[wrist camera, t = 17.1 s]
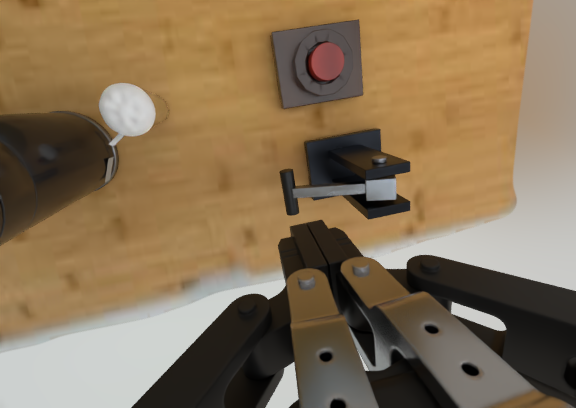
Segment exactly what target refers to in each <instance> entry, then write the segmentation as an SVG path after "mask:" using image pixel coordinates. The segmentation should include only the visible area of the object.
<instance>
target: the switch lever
mask: <svg viewBox="0 0 576 408" xmlns="http://www.w3.org/2000/svg"><path fill="white" fill-rule="evenodd" d="M280 177H281V183H282V189H283V195H284V201H285V206H286V212H287V215H296V214H298V213H299V207H298V200H297V198H305V197H321V196H337V195H353V194H366V200H367V201H381V200H396V177H395V175H391V176H386V177H381V178H376V179H371V180H365V181H355V182H342V183H329V184H315V185H302V186H295V181H294V174H293V169H284V170H281V171H280Z"/></svg>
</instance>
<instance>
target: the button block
mask: <svg viewBox="0 0 576 408" xmlns="http://www.w3.org/2000/svg"><path fill="white" fill-rule="evenodd" d="M270 37H271V44H272V50H273V57H274V63H275V69H276V76H277V82H278V89H279V95H280V102H281V108H282V109H286V108H292V107H298V106H304V105H309V104H315V103H321V102H327V101H333V100H339V99H344V98H350V97H356V96H362V95H363V84H362V65H361V46H360V27H359V20H352V21H345V22H339V23H332V24H325V25H318V26H311V27H304V28H297V29H290V30H283V31H277V32H272V33H271V36H270ZM326 42H331V43H334V44H336V45H337V46H339V47H340V49H341V50H342V52H343V55H344V67H343V70H342V72H341V73H340V74H339V75H338V76H337V77H336V78H335V79H332V80H329V81H325V82H322V81H318V80H316V79H314V78H313V77H312V75H311V74H310V72H309V69H308V59H309V56H310V54H311V52H312V51H313V50H314V49H315V48H316V47H318V46H319V45H320V44H322V43H326Z"/></svg>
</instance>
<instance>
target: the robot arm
mask: <svg viewBox="0 0 576 408" xmlns="http://www.w3.org/2000/svg"><path fill="white" fill-rule="evenodd" d="M112 140H113V139H112V138H111V136H110V135H109V133H108V132H107V131H106V130H105V129H104V128H103V127H102V126H101V125H100V124H98V123H97V122H96V121H94V120H93V119H91V118H89V117H87V116H85V115H82V114H79V113H75V112H70V111H55V112H49V113H27V114H6V115H0V246H1V245H2V244H4V243H6V242H7V241H9V240H11V239H13V238H14V237H16V236H18V235H19V234H21V233H22V232H24V231H26V230H28V229H29V228H31V227H33V226H34V225H36V224H38V223H40V222H41V221H43V220H45V219H46V218H48V217H50V216H52V215H53V214H55V213H57V212H59V211H60V210H62V209H64V208H65V207H67V206H69V205H71V204H72V203H74V202H76V201H77V200H79V199H81V198H83V197H84V196H86V195H88V194H90V193H91V192H93V191H96V190H98V189H100V188H102V187H103V186H105V185H106V184H108V183H109V182H110V181H111V180H112V178H113V177H114V175H115V173H116V171H117V168H118V152H117V148H116V145H115V146H110V145H108V144H109V143H110V142H111V141H112ZM290 232H291V237H289V238H284V239H281V240H280V242H279V245H278V249H279V254H280V259H281V264H282V269H283V274H284V278H285V282H286V286H285V288H284V289H283V290H282V291H281V292H280V293H279V294H278V295H276V296H275V297H273V298H271V299H269V300H268V299H267V298H266V297H265V296H263V295H260V294H248V295H244V296H242V297H239V298H238V299H236V300H235V301H233V302H232V303H231V304H230V305H229V306H228V307H227V308H226V309H225V310H224V311H223V312H222V313H221V315H219V317H218V318H217V319H216V320H215V321H214V322H213V323H212V324H211V325H210V326H209V327H208V328H207V329H206V330H205V331H204V332H203V333H202V334H201V335H200V336H199V337H198V339H197V340H196V341H195V342H194V343H193V344H192V345H191V346H190V347H189V348H188V349H187V350H186V351H185V352H184V353H183V354H182V355H181V356H180V357H179V358H178V359H177V360H176V362H175V363H174V364H173V365H172V366H171V367H170V368H169V369H168V370H167V371H166V372H165V373H164V374H163V375H162V376H161V378H159V379H158V381H157V382H155V384H154V385H153V386H152V387H151V388H150V389H149V390H148V391H147V392H146V393H145V394H144V395H143V396H142V397H141V398H140V399H139V400H138V401H137V403H135V404H134V405H133V406H132V408H265V407H266V405H267V403H268V402H269V400H270V398H271V396H272V395H273V393H274V391H275V389H276V387H277V385H278V384H279V382H280V380H281V378H282V376H283V373H284V368H285V367H287V366H288V365H290V364H291V363H293V362H295V371H296V379H297V387H298V397H299V399H298V400H297V401H296V402H295V403H293V404H292V405H291V406H290V407H289V408H576V291H573V290H569V289H565V288H561V287H557V286H553V285H549V284H545V283H541V282H537V281H533V280H529V279H525V278H521V277H517V276H513V275H509V274H505V273H501V272H497V271H493V270H489V269H485V268H481V267H477V266H473V265H469V264H465V263H461V262H457V261H453V260H449V259H445V258H441V257H437V256H432V255H419V256H415V257H412V258H411V259H409V260H408V262H407V269H385V268H384V267H383V266H382V265H381V264H380V263H379V262H377V261H375V260H374V259H372V258H368V257H364V256H363V255H362V254H361V253H360V251H359V250H358V249H357V248H356V246H355V245H354V244H353V243H352V241H351V240H350V239H349V238H348V236H347V235H346V234H345V232H344V231H342V230H340V229H338V228H336V227H335V228H330V229H328V228H327V226H326V225H325V223H324V222H323V220H318V221H313V222H308V223H304V224H299V225H294V226H290ZM452 302H455V303H458V304H460V305H463V306H466V307H470V308H473V309H475V310H478V311H481V312H484V313H487V314H490V315H493V316H495V317H497V318H499V319H500V320H501V321H502V322H503V323H504V324H505V326H506V329H507V330H505V331H497V330H494V329H491V328H488V327H486V326H483V325H480V324H477V323H475V322H472V321H469V320H467V319H464V318H461V317H458V316H456V315H453V314H451V305H452ZM357 350H358V351H357ZM358 352H359V353H360V355H361V357H362V359H363V360H364V362H365V364H366V366H367V367H368V369H369V371H365V369H364V367H363V364H362V361H361V359H360V356H359V353H358Z"/></svg>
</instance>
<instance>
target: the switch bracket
mask: <svg viewBox="0 0 576 408" xmlns="http://www.w3.org/2000/svg"><path fill="white" fill-rule="evenodd" d="M304 143H305V150H306V158H307V166H308V173H309V181H310V185H315V184H329V183H342V182H355V181H365V180H371V179H376V178H381V177H386V176H391V175H396V174H401V173H406V172H410V162H409V161H407V160H404V159H401V158H398V157H395V156H392V155H389V154H386V153H383V152H381V138H380V129H371V130H365V131H360V132H354V133H349V134H343V135H338V136H332V137H327V138H322V139H316V140H311V141H305V142H304ZM337 196H339V195H337ZM342 196H343V197H344V198H345V199H346V200H348V201H349V202H350V203H351V204H352V205H353V206H354V207H355V208H356V209H357V210H358V211H360V212H361V213H362V214H363V215H364V216H365V217H366V218H367V219H373V218H378V217H382V216H387V215H392V214H396V213H401V212H406V211H410V201H408V200H407V199H405V198H403V197H402V196H400V195H398V194H396V200H381V201H367V200H366V194H353V195H342ZM329 197H334V196H321V197H312V199H313V200H319V199H324V198H329Z"/></svg>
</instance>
